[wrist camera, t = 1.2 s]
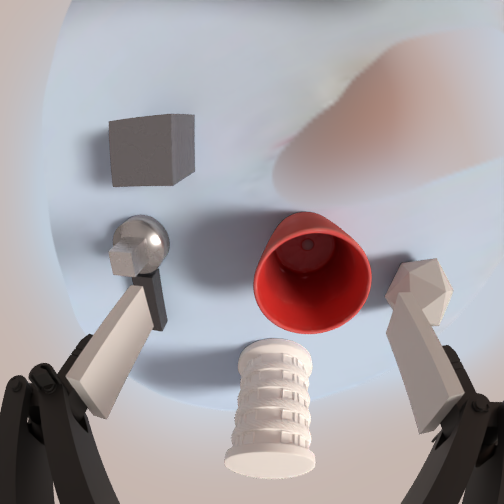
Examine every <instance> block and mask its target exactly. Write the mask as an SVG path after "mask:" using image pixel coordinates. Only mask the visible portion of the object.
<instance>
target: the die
mask: <svg viewBox="0 0 504 504" xmlns="http://www.w3.org/2000/svg"><path fill="white" fill-rule="evenodd" d="M399 292H411V293H412V294H413V296H414V298H415V299H416V301H417V303H418V304H419V306H420V308H421V309H422V311H423V313H424V314H425V316H426V318H427V320H428V321H429V323H430V325H431V326H439V325H440V322H441V320H442V318H443V315H444V313H445V311H446V308H447V306H448V303H449V301H450V298H451V296H452V293H453V288H452V286H451V284H450V282H449V280H448V278H447V277H446V275H445V273H444V271H443V269H442V267H441V265H440V264H439V262H438V260H437V258H434V259H427V260H420V261H413V262H406V263H401V265H400V267H399V269H398V271H397V273H396V275H395V277H394V279H393V281H392V283H391V285H390V287H389V289H388V291H387V293H386V295H385V298H386V300H387V301H388V303H389V304H390V306H391V308H392V309H393V310H394V306H395V303H396V300H397V296H398V293H399Z"/></svg>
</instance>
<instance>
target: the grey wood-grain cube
mask: <svg viewBox="0 0 504 504" xmlns="http://www.w3.org/2000/svg"><path fill="white" fill-rule="evenodd" d="M109 143H110V160H111V173H112V183H113V187H127V186H173V185H175V184H176V183H178V182H179V181H181V180H183V179H184V178H186V177H187V176H189V175H190V174H192V173H193V172H195V149H194V115H188V114H164V115H154V116H145V117H136V118H129V119H122V120H115V121H109Z"/></svg>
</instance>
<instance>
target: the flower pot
mask: <svg viewBox="0 0 504 504" xmlns="http://www.w3.org/2000/svg"><path fill="white" fill-rule="evenodd" d="M371 280H372V275H371V268H370V264H369V261H368V258H367V256H366V254H365V252H364V251H363V249H362V248H361V247H360V246H359V244H358V243H357V242H356V241H355V240H354V239H353V238H351V237H350V236H349V235H348V234H347V233H346V232H344V231H343V230H342V229H341V228H339V227H338V226H337V225H335V224H334V223H333V222H331V221H330V220H328V219H326V218H325V217H323V216H321V215H319V214H316V213H312V212H300V213H296V214H293V215H290V216H288V217H287V218H285V219H284V220H283V221H282V222H281V223H280V224H279V225H278V226H277V228H276V229H275V231H274V232H273V234H272V236H271V238H270V240H269V241H268V244H267V246H266V248H265V250H264V252H263V254H262V256H261V258H260V261H259V263H258V266H257V268H256V271H255V275H254V282H253V288H254V295H255V299H256V302H257V304H258V306H259V308H260V310H261V311H262V313H263V314H264V315H265V316H266V317H267V318H268V319H269V320H270V321H271V322H272V323H274V324H275V325H277V326H278V327H280V328H282V329H284V330H287V331H290V332H294V333H300V334H317V333H323V332H327V331H330V330H333V329H335V328H338V327H340V326H342V325H343V324H345V323H346V322H348V321H349V320H351V319H352V318H353V317H354V316H355V315H356V314H357V313H358V312H359V311H360V309H361V308H362V306H363V305H364V303H365V301H366V300H367V297H368V295H369V292H370V287H371Z"/></svg>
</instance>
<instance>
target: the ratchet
mask: <svg viewBox="0 0 504 504" xmlns="http://www.w3.org/2000/svg"><path fill="white" fill-rule="evenodd" d="M169 246H170V242H169V237H168V234H167V232H166V230H165V228H164V227H163V226H162V225H161V223H160V222H158V221H157V220H156V219H154V218H152V217H150V216H147V215H135V216H132V217H131V218H129V219H128V220H127V221H125V222H124V223H123V224H121V225H120V226H119V227H118V228H117V229H116V231H115V233H114V236H113V247H112V248H111V249H110V250H109V251H108V252H109V257H110V262H111V266H112V271H113V275H120V276H129V277H132V280H133V285H134V286H143V289H144V293H145V297H146V300H147V304H148V308H149V311H150V315H151V318H152V322H153V325H154V327H153V329H152V330H156V331H163V329H164V327H165V325H166V323H167V315H166V310H165V304H164V299H163V293H162V287H161V280H160V274H159V269H157V268H158V267H159V265H160V264H161V263H162V261H163V260H164V259H165V257H166V256H167V254H168V252H169Z"/></svg>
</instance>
